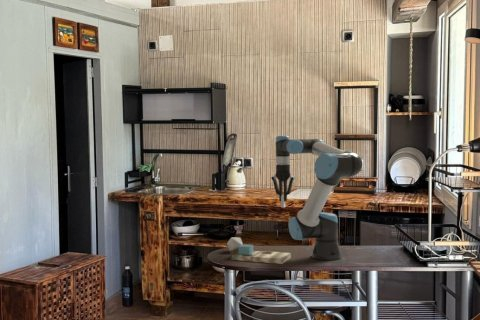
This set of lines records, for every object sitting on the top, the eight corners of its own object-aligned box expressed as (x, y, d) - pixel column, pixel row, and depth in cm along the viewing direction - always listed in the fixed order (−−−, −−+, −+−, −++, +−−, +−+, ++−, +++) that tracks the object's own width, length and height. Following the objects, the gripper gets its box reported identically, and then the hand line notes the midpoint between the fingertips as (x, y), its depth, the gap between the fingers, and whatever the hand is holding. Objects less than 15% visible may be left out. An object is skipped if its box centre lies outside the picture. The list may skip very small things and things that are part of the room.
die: (245, 251, 299) (237, 236, 303) (245, 247, 292) (238, 231, 295) (232, 257, 298) (224, 242, 301) (232, 253, 290) (224, 237, 294)
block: (253, 252, 284) (253, 245, 284) (249, 254, 278) (249, 247, 278) (243, 251, 286) (242, 244, 286) (238, 254, 281) (238, 246, 280)
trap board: (290, 257, 280) (290, 248, 280) (282, 263, 267) (282, 254, 267) (240, 253, 291) (240, 245, 291) (230, 259, 278) (230, 250, 278)
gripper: (296, 163, 294) (296, 206, 295) (273, 163, 299) (274, 205, 300) (292, 164, 287) (292, 208, 288) (269, 164, 292) (269, 207, 293)
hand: (283, 207), depth 294 cm, fingers closed
